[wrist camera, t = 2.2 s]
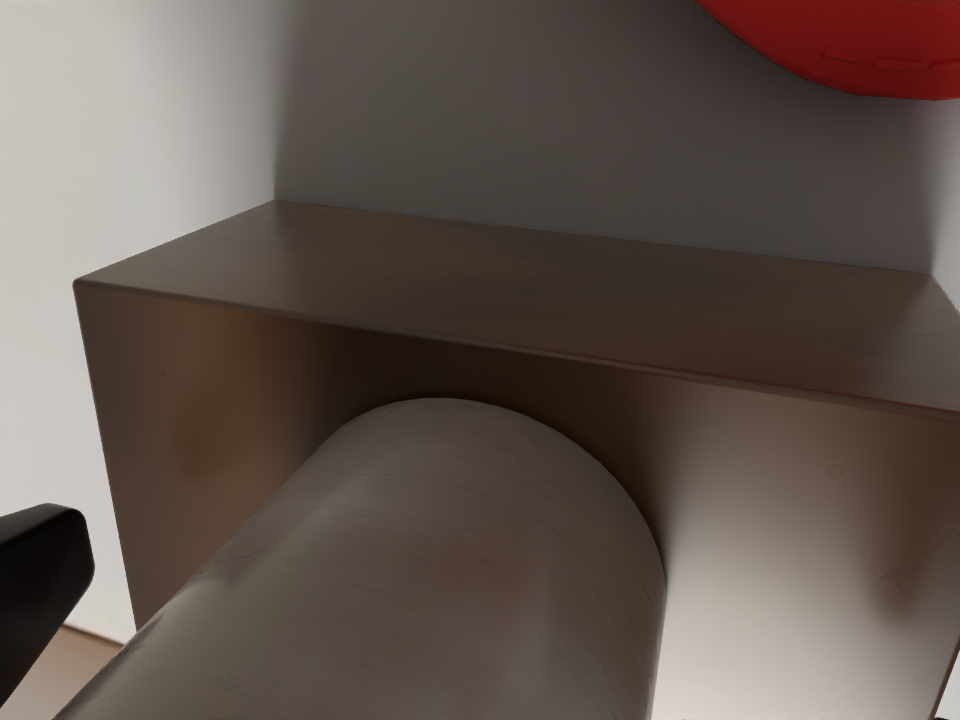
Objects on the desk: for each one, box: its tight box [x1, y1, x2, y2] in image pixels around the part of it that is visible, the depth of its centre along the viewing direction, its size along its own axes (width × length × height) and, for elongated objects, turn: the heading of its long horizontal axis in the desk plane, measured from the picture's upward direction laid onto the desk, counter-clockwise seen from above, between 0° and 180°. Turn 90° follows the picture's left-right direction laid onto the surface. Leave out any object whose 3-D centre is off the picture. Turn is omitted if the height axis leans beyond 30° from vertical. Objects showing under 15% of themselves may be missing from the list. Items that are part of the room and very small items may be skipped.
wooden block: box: [73, 201, 960, 720], centre depth 11 cm, size 10×6×4 cm, turn 88°
